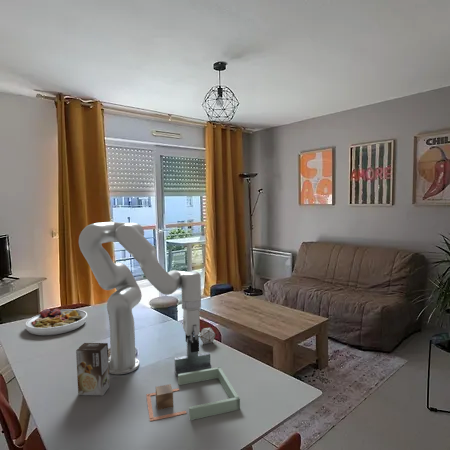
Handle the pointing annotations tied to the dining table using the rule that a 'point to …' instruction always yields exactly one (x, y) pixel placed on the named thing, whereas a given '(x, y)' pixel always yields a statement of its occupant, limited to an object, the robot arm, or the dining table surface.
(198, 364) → the rake
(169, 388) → the walnut block
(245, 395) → the dining table surface
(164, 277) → the robot arm
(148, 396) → the terracotta bay outline
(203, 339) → the game die
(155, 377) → the dining table surface
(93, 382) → the coffee box
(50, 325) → the plate of food
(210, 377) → the sage pen
